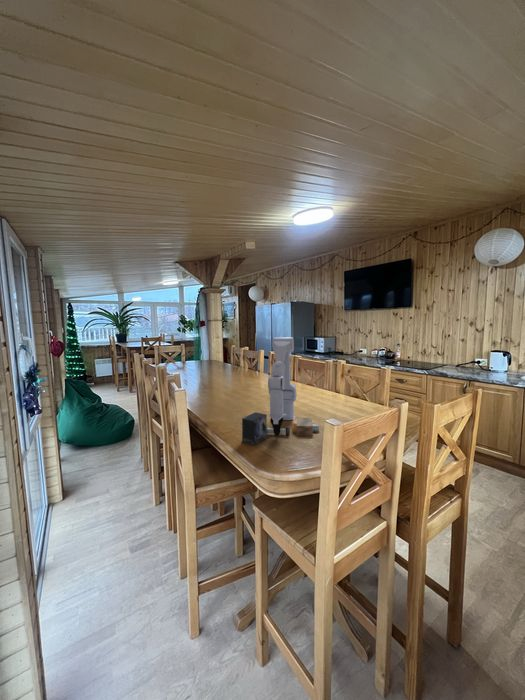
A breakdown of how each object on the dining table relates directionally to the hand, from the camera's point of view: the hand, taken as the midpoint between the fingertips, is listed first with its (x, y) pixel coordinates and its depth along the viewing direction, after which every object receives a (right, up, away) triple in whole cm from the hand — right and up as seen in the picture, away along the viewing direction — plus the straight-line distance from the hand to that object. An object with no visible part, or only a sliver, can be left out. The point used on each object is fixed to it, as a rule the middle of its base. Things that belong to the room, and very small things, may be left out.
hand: (277, 434), depth 133 cm
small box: (-10, -2, 0) cm, 10 cm away
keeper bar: (0, 0, +4) cm, 4 cm away
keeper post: (+5, -1, +4) cm, 6 cm away
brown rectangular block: (+14, -1, +9) cm, 16 cm away
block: (+13, 0, +9) cm, 16 cm away
